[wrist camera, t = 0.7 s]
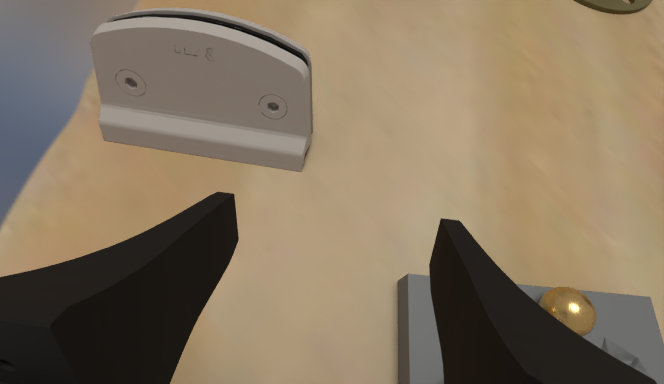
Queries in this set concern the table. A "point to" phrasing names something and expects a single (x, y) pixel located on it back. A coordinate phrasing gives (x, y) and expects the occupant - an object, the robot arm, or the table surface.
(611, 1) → the flange
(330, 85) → the table surface
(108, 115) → the grey rounded bracket
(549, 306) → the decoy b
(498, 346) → the robot arm
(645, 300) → the plate
